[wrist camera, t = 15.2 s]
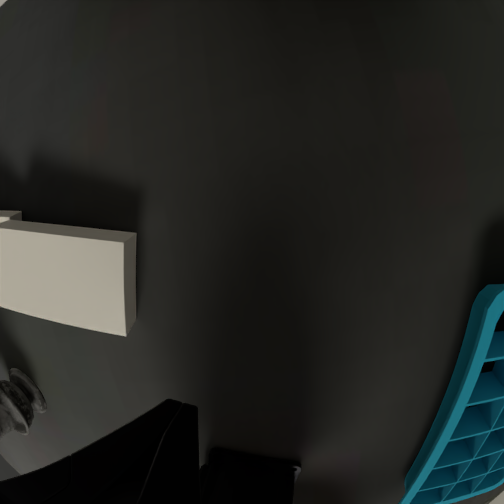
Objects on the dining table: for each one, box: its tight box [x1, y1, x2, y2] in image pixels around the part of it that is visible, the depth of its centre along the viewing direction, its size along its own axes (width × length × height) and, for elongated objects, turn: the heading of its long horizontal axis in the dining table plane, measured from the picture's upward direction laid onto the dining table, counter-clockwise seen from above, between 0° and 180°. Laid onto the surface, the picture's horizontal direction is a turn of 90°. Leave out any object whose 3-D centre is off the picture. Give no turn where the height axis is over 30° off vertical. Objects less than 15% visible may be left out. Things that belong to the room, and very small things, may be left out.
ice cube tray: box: [398, 284, 504, 504], centre depth 14 cm, size 12×20×3 cm, turn 1°
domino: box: [0, 220, 137, 336], centre depth 15 cm, size 2×5×9 cm
